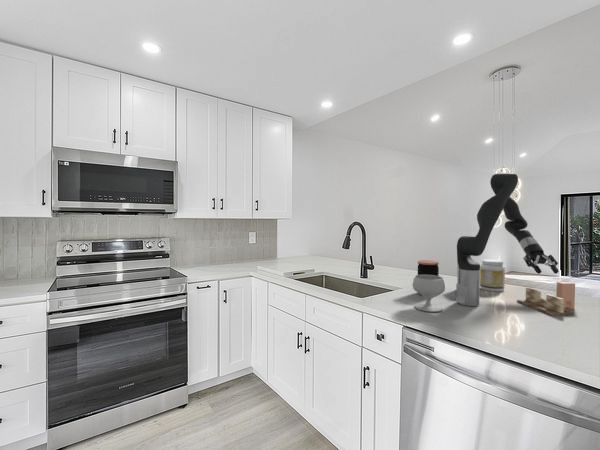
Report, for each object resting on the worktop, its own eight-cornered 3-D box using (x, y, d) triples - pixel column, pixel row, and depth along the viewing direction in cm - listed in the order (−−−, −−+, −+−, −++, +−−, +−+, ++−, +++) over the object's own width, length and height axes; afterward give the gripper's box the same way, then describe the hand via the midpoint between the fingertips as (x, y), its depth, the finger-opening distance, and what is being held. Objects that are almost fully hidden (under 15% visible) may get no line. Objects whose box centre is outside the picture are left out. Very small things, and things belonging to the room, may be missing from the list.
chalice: (451, 310, 139) (451, 277, 138) (432, 315, 132) (432, 281, 131) (424, 302, 151) (425, 272, 150) (406, 307, 144) (406, 275, 143)
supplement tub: (484, 285, 185) (484, 258, 185) (507, 289, 176) (508, 260, 175) (476, 289, 177) (477, 260, 177) (500, 293, 168) (501, 262, 167)
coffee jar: (441, 296, 161) (442, 263, 161) (421, 296, 162) (422, 263, 161) (433, 291, 172) (433, 260, 171) (414, 291, 172) (414, 260, 172)
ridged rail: (517, 301, 151) (517, 287, 151) (536, 301, 151) (537, 287, 151) (550, 315, 131) (551, 299, 131) (573, 315, 131) (573, 298, 131)
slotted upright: (556, 307, 143) (556, 282, 142) (568, 307, 143) (569, 282, 142) (561, 309, 140) (562, 283, 139) (574, 309, 140) (575, 283, 139)
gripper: (521, 243, 159) (538, 268, 148) (548, 242, 159) (567, 268, 148) (514, 251, 164) (530, 277, 153) (540, 251, 164) (557, 276, 153)
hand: (548, 272), depth 151 cm, fingers open, 8 cm apart
